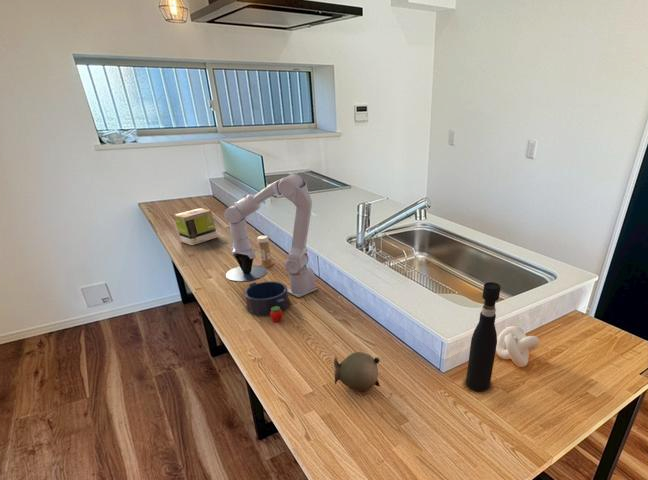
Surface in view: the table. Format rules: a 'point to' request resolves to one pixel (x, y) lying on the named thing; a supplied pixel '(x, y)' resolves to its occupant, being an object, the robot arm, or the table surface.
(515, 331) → the white decorative knot
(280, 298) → the pot
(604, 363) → the table surface
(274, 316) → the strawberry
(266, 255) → the sprinkles bottle
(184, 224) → the tea box
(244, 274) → the lid
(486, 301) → the black bottle
